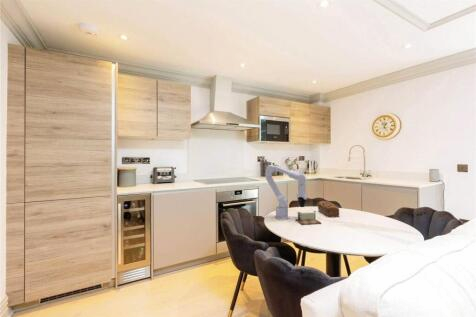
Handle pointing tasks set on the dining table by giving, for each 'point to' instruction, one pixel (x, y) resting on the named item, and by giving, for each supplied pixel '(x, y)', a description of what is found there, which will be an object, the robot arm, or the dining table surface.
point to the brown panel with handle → (307, 220)
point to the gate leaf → (307, 215)
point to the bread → (328, 209)
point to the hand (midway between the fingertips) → (301, 206)
